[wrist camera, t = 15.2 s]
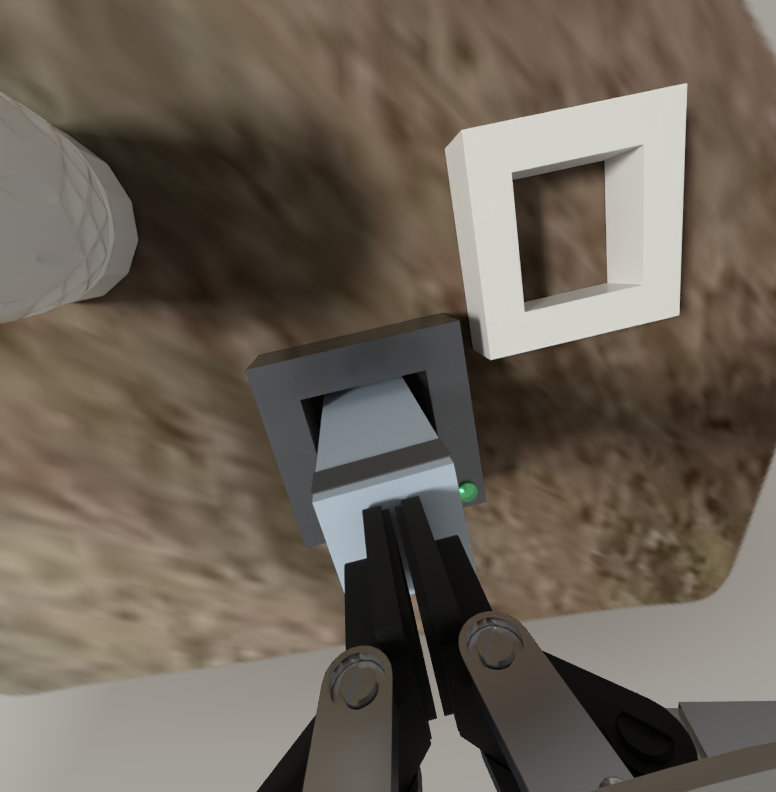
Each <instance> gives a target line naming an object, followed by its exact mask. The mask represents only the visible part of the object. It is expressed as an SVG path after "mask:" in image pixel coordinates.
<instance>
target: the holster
mask: <svg viewBox="0 0 776 792" xmlns="http://www.w3.org/2000/svg"><path fill="white" fill-rule="evenodd" d="M686 103H687V83H685V84H681V85H676V86H671V87H666V88H661V89H656V90H652V91H647V92H642V93H637V94H632V95H628V96H623V97H618V98H613V99H608V100H604V101H599V102H594V103H589V104H584V105H580V106H575V107H570V108H565V109H560V110H555V111H551V112H546V113H541V114H536V115H531V116H527V117H522V118H517V119H512V120H507V121H503V122H498V123H493V124H488V125H483V126H479V127H474V128H469V129H464V130H461V131H460V132H459V133H458V135H457V136H456V137H455V138H454V139H453V140H452V141H451V143H450V144H449V145H448V146H447V147H446V148H445V154H446V161H447V168H448V176H449V183H450V190H451V197H452V204H453V211H454V218H455V225H456V232H457V239H458V246H459V254H460V261H461V268H462V275H463V282H464V289H465V296H466V303H467V310H468V317H469V325H470V332H471V339H472V346H473V350H475V351H476V352H478V353H480V354H481V355H483V356H485V357H486V358H488V359H490V360H494V359H498V358H502V357H506V356H510V355H515V354H519V353H523V352H527V351H531V350H536V349H540V348H544V347H548V346H552V345H557V344H561V343H565V342H569V341H573V340H578V339H582V338H586V337H590V336H594V335H599V334H603V333H607V332H611V331H615V330H620V329H624V328H628V327H632V326H636V325H641V324H645V323H649V322H653V321H657V320H662V319H666V318H670V317H674V316H678V315H679V310H680V281H681V251H682V221H683V192H684V162H685V133H686ZM599 161H604V164H605V204H606V244H607V283H605V284H600V285H596V286H592V287H587V288H583V289H579V290H574V291H570V292H566V293H561V294H557V295H553V296H549V297H544V298H540V299H536V300H531V301H527V302H524V299H523V288H522V278H521V267H520V256H519V246H518V235H517V224H516V214H515V203H514V192H513V182H512V180H516V179H520V178H525V177H530V176H534V175H539V174H544V173H548V172H553V171H557V170H562V169H567V168H571V167H576V166H581V165H585V164H590V163H595V162H599Z"/></svg>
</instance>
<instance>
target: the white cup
mask: <svg viewBox="0 0 776 792" xmlns="http://www.w3.org/2000/svg"><path fill="white" fill-rule="evenodd" d="M137 243H138V235H137V229H136V224H135V218H134V213H133V207H132V202H131V200H130V198H129V197H128V195H127V194H126V192H125V191H124V189H123V187H122V186H121V184H120V183H119V181H118V180H117V178H116V176H115V175H114V173H113V172H112V170H111V169H110V167H109V166H108V164H107V163H106V162H104V161H103V160H102V159H100V158H99V157H98V156H96V155H95V154H94V153H92V152H91V151H90V150H88V149H87V148H86V147H84V146H83V145H82V144H80V143H79V142H78V141H76V140H75V139H74V138H72V137H71V136H69V135H68V134H66V133H65V132H63V131H61V130H59V129H57V128H56V127H54V126H52V125H50V124H49V123H48V122H47V121H46V120H45V119H43V118H42V117H41V116H39V115H38V114H36V113H35V112H33V111H31V110H30V109H28V108H27V107H25V106H23V105H22V104H20V103H19V102H17V101H15V100H13V99H12V98H10V97H9V96H7V95H6V94H4V93H2V92H1V91H0V324H1V323H6V322H11V321H15V320H21V319H23V318H27V317H30V316H33V315H37V314H41V313H46V312H50V311H53V310H54V309H56V308H57V307H59V306H62V305H67V304H71V303H75V302H80V301H84V300H88V299H92V298H97V297H101V296H104V295H105V294H106V293H107V292H109V291H110V290H111V289H112V288H113V287H114V286H115V285H116V284H117V283H118V282H119V281H120V280H122V279H123V278H124V277H125V276H126V275H127V274H128V273H129V270H130V267H131V263H132V260H133V257H134V253H135V250H136V246H137Z"/></svg>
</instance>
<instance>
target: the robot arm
mask: <svg viewBox="0 0 776 792" xmlns="http://www.w3.org/2000/svg"><path fill="white" fill-rule="evenodd" d="M395 511H396V515H397V519H398V523H399V527H400V532H401V536H402V540H403V544H404V548H405V553H406V557H407V561H408V565H409V569H410V574H411V578H412V582H413V586H414V590H415V595H416V599H417V603H418V607H419V611H420V616H421V620H422V624H423V628H424V632H425V636H426V641H427V645H428V649H429V653H430V657H431V661H432V665H433V669H434V673H435V678H436V682H437V686H438V690H439V695H440V699H441V703H442V707H443V711H444V715H445V716H447V715H451V714H454V717H455V720H456V724H457V728H458V731H459V732H460V736H461V737H463V738H464V739H466V740H468V741H469V742H470V743H472V744H473V745H475V746H476V747H478V748H479V749H480V751H481V754H482V758H483V760H484V763H485V765H486V767H487V769H488V772H489V774H490V777H491V779H492V781H493V783H494V786H495V788H496V790H497V792H776V701H734V702H733V701H730V702H679V706H678V708H664V707H662V706H661V705H659V704H657V703H656V702H654V701H652V700H650V699H648V698H646V697H644V696H642V695H639V694H637V693H635V692H633V691H631V690H628V689H626V688H624V687H622V686H619V685H617V684H615V683H613V682H611V681H608V680H606V679H604V678H601V677H600V676H597V675H595V674H593V673H591V672H588V671H586V670H584V669H582V668H579V667H577V666H575V665H573V664H571V663H569V662H566V661H564V660H562V659H560V658H557V657H555V656H553V655H551V654H549V653H546V652H544V651H542V650H541V649H540V647H539V646H538V644H537V643H536V642H535V640H534V639H533V637H532V636H531V635H530V633H529V632H528V631H527V629H526V628H525V627H524V626H523V625H522V624H521V623H520V622H519V621H518V620H517V619H515V618H514V617H512V616H510V615H509V614H505V613H501V612H497V611H492V609H491V607H490V605H489V602H488V600H487V598H486V596H485V593H484V591H483V589H482V587H481V585H480V582H479V580H478V578H477V576H476V574H475V571H474V569H473V567H472V565H471V563H470V560H469V558H468V556H467V554H466V551H465V549H464V547H463V545H462V543H461V540H460V538H459V536H458V535H454V536H450V537H446V538H442V539H438V540H434V537H433V534H432V531H431V529H430V526H429V523H428V520H427V517H426V515H425V512H424V509H423V506H422V503H421V501H420V498H419V496H414V497H410V498H407V499H403V500H401V505H400V506H396V507H395ZM362 515H363V525H364V535H365V545H366V555H367V558H365V559H361V560H357V561H354V562H350V563H346V564H345V565H344V584H345V633H346V651H345V652H343V653H341V654H340V655H339V656H338V657H337V658H336V659H335V660H334V661H333V662H332V663H331V665H330V666H329V668H328V669H327V671H326V672H325V676H324V679H323V682H322V685H321V691H320V696H319V702H318V708H317V713H316V716H315V717H314V718H313V719H312V720H311V722H310V723H309V725H308V726H307V727H306V728H305V730H304V731H303V732H302V733H301V735H300V736H299V738H298V739H297V740H296V741H295V743H294V744H293V745H292V746H291V748H290V749H289V750H288V752H287V753H286V754H285V756H284V757H283V758H282V759H281V761H280V762H279V763H278V765H277V766H276V767H275V768H274V770H273V771H272V773H271V774H270V775H269V776H268V778H267V779H266V780H265V781H264V783H263V784H262V785H261V787H260V788H259V789H258V791H257V792H422V774H421V769H420V764H421V762H422V760H423V759H424V757H425V755H426V753H427V751H428V749H429V747H430V745H431V741H430V739H432V738H431V732H430V728H429V723H428V721H429V720H433V719H436V718H437V716H436V711H435V706H434V702H433V697H432V693H431V688H430V684H429V679H428V675H427V670H426V666H425V661H424V657H423V652H422V647H421V643H420V638H419V634H418V629H417V625H416V620H415V616H414V611H413V607H412V602H411V598H410V593H409V589H408V585H407V580H406V576H405V572H404V568H403V564H402V560H401V556H400V552H399V548H398V544H397V540H396V536H395V532H394V528H393V523H392V519H391V515H390V511H389V508H388V509H384V510H382V509H381V506H380V505H379V506H375V507H371V508H367V509H363V510H362Z"/></svg>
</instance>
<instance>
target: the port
mask: <svg viewBox="0 0 776 792" xmlns="http://www.w3.org/2000/svg"><path fill="white" fill-rule="evenodd" d="M245 371H246V373H247V376H248V379H249V382H250V385H251V388H252V391H253V394H254V397H255V400H256V403H257V406H258V409H259V412H260V415H261V417H262V420H263V423H264V426H265V429H266V432H267V435H268V438H269V441H270V444H271V447H272V450H273V453H274V456H275V458H276V461H277V464H278V467H279V470H280V473H281V476H282V479H283V482H284V485H285V488H286V491H287V494H288V497H289V500H290V502H291V505H292V508H293V511H294V514H295V517H296V520H297V523H298V526H299V529H300V532H301V535H302V538H303V541H304V544H305V546H306V548H308V547H312V546H315V545H319V544H323V543H326V540H325V537H324V534H323V532H322V529H321V526H320V523H319V520H318V518H317V515H316V512H315V509H314V506H313V504H312V500H313V498H312V496H311V488H312V480H313V473H315V472H316V464H317V454H318V445H319V436H320V429H319V426H318V422H317V419H316V415H315V412H314V408H313V405H312V402H311V397H315V396H319V395H323V394H328V393H332V392H336V391H340V390H344V389H349V388H353V387H357V386H361V385H365V384H370V383H374V382H378V381H382V380H387V379H391V378H395V377H399V376H403V375H408V374H412V373H416V372H417V377H418V382H419V387H420V392H421V397H422V403H423V408H424V413H425V416H426V418H427V420H428V421H429V423H430V425H431V426H432V428H433V430H434V431H435V433H436V435H437V436H438V438H441V439H442V441H443V442H444V444H445V446H446V447H447V449H448V451H449V452H450V454H451V457H452V461H453V463H454V468H455V472H456V477H457V482H458V487H459V492H460V496H461V501H462V506H463V508H464V507H468V506H472V505H475V504H479V503H483V502H486V495H485V488H484V482H483V475H482V468H481V461H480V455H479V448H478V441H477V435H476V428H475V421H474V414H473V408H472V401H471V394H470V388H469V381H468V374H467V367H466V361H465V354H464V347H463V341H462V334H461V327H460V320H457V319H455V318H453V317H450V316H448V315H446V314H443V313H440V314H435V315H431V316H427V317H422V318H418V319H414V320H409V321H405V322H401V323H396V324H392V325H388V326H383V327H379V328H375V329H370V330H366V331H362V332H357V333H353V334H349V335H344V336H340V337H336V338H331V339H327V340H323V341H318V342H314V343H310V344H305V345H301V346H297V347H292V348H288V349H284V350H279V351H275V352H271V353H266V354H262V355H259V356H258V357H257V358H256V359H255V360H254V361H253V362H252V363H251V365H250V366H249V367H248V368H247V369H246V370H245Z"/></svg>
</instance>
